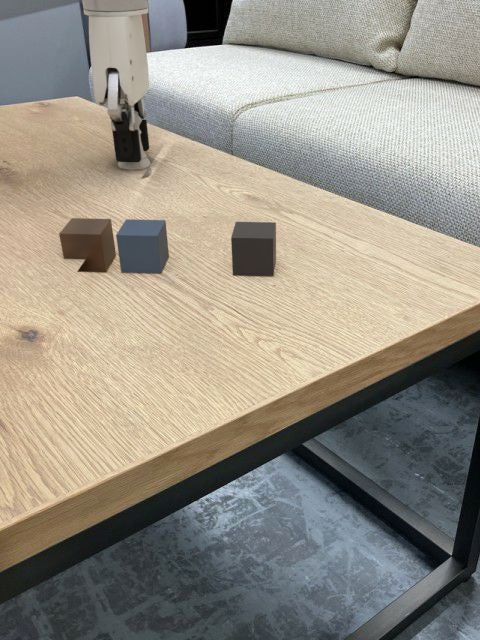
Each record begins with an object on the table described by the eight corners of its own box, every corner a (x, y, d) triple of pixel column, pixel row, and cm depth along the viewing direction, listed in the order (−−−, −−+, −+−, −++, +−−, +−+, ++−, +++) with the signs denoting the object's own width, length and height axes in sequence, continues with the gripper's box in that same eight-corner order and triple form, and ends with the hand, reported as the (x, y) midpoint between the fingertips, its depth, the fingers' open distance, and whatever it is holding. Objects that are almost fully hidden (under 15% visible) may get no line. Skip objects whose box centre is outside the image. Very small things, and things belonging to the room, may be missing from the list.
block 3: (232, 275, 68) (231, 237, 66) (237, 258, 71) (235, 221, 69) (273, 276, 68) (273, 238, 66) (276, 259, 71) (276, 222, 69)
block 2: (121, 273, 69) (115, 234, 66) (130, 256, 72) (125, 219, 70) (161, 274, 68) (157, 235, 66) (169, 257, 72) (165, 219, 70)
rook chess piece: (120, 169, 96) (112, 108, 91) (153, 169, 96) (147, 108, 91) (116, 180, 92) (108, 117, 87) (150, 179, 92) (144, 116, 88)
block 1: (66, 271, 69) (58, 233, 67) (78, 254, 72) (71, 217, 70) (106, 272, 69) (100, 234, 66) (116, 255, 72) (111, 218, 70)
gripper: (102, -9, 89) (120, 138, 100) (61, 7, 75) (87, 175, 86) (160, -8, 89) (173, 138, 99) (129, 8, 75) (147, 176, 85)
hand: (133, 154), depth 92 cm, fingers open, 4 cm apart
